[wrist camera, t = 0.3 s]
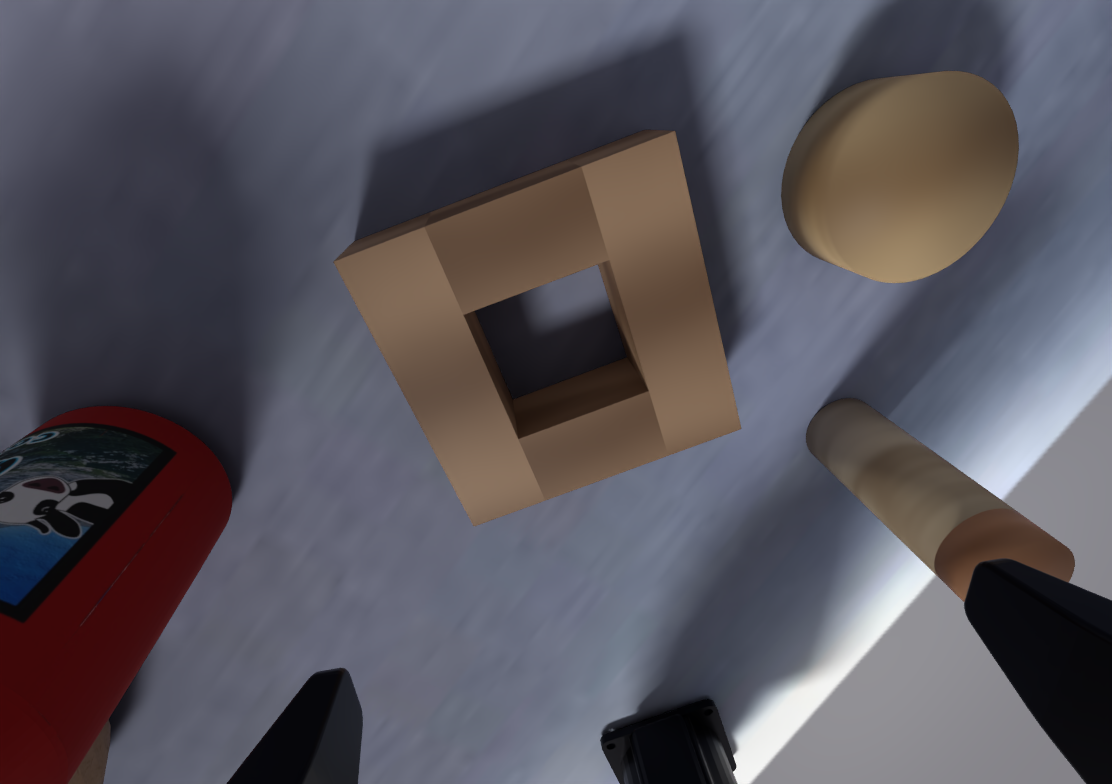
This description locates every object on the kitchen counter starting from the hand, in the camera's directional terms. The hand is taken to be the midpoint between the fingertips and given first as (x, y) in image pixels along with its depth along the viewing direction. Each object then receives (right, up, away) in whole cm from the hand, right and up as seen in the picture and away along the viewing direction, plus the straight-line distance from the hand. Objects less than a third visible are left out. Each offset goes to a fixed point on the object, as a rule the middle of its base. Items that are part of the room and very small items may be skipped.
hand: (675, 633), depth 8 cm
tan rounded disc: (+9, +11, +12) cm, 18 cm away
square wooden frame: (-2, +6, +12) cm, 14 cm away
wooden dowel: (+10, +2, +16) cm, 19 cm away
